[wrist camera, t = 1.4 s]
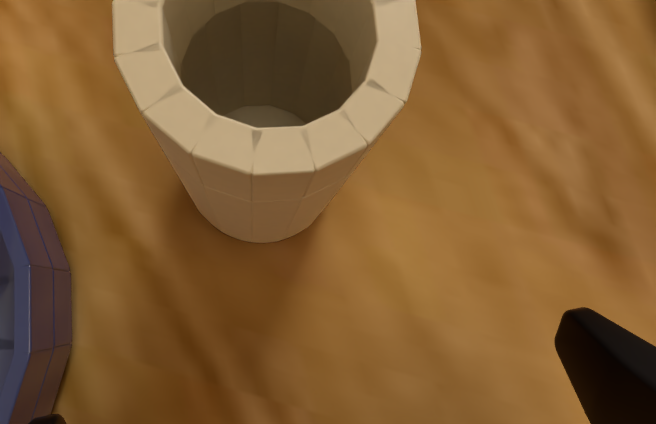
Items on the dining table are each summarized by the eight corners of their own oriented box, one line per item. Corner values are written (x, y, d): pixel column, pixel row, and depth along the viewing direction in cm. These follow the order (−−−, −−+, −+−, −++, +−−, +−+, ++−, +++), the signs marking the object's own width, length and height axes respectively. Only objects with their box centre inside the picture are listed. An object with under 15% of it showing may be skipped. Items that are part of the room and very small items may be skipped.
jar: (338, 237, 23) (437, 165, 11) (191, 248, 22) (116, 183, 10) (325, 100, 24) (403, -109, 12) (184, 105, 23) (106, -117, 11)
